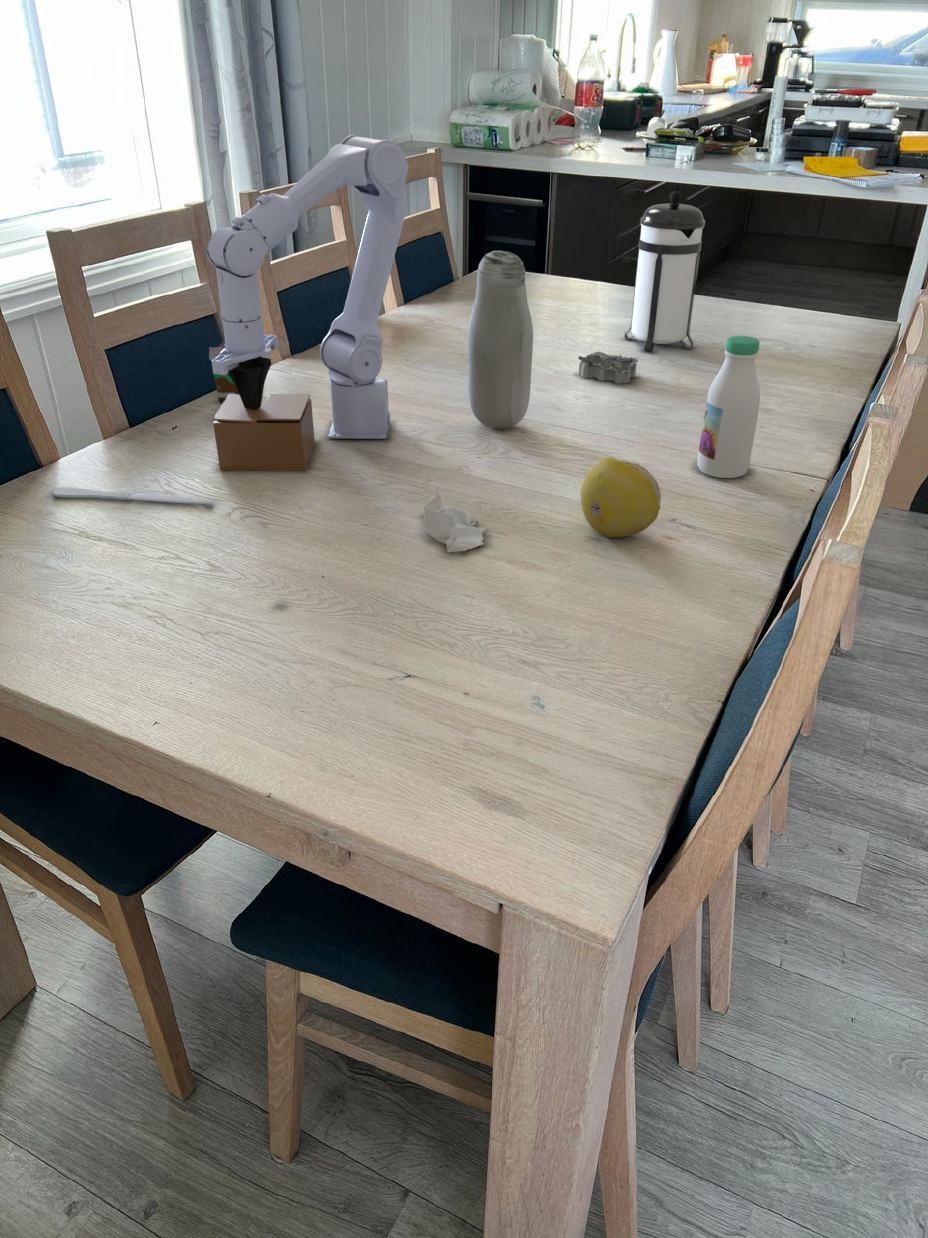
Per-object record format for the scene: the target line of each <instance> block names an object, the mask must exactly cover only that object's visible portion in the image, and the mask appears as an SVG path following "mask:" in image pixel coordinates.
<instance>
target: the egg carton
mask: <svg viewBox="0 0 928 1238" xmlns="http://www.w3.org/2000/svg"><path fill="white" fill-rule="evenodd" d="M577 357H578V358H577V359H578V361H579V367H578V376H581V377H582V378H583V379H590V378H594V379H597V380H598V381H603V382H605V381H612V382H614V383H615V384H618V385H621V384H628V383H630V382H631V378H635V377H636V372H637V363H638V362H639V359H640V356H636V357H632V356H630V357H627V356H624V357H623V356H622V354H619V355H615V354H607V353H604V352H603V351H595V352H592V353H590V354H587V355H586V356H581V355H578V356H577Z"/></svg>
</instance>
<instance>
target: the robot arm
mask: <svg viewBox="0 0 928 1238" xmlns="http://www.w3.org/2000/svg"><path fill="white" fill-rule="evenodd" d="M409 168H410V165H409V162H408V161H407V159H406V157H405V155H404V153H403V151H402V149H401V148H400V146H399V145H398V144H397V143H396V142H394V141H393V140H390V139H376V138H370V137H364V136H361V135H358V134H351V135H347V136H346V137H344V138H343V140H341V142H340V143H337V144H335V145H333V146H332V147H331V148H330V150H329V151H328V152H327V154H326V156H325V157H323V158H322V159H321V160H320V161H319V162H318V163H317V164H316V165H314V166H313V167H312V168H311V169H310V170H309V171H308V172H307V173H306V174H305V175H303V177H301V178H300V179H299V180H298V181H296V183H294V184H293V186H292V187H290V189H288V190H287V191H285V193H284V194H278V193H273V192H272V193H269V194H268V195H267V194H263V193H262V194H261V195H259V196H258V197H257V198H256V201H257V204H256V205H254V206H253V207H252V208H251V209H249V210H248V211H247V212H246V213H244V214H243V215H242V216H239V217H238V216H235V217H234V218H233V219H231V223H232V225H231V227H230V226H226V227H224V226H223V227H220V228H218V229H216V230H215V231H214V232H213V233H212V234H211V236H210V240H209V241H208V244H207V246H208V247H207V248H206V249H205V253H206V257H207V259H208V261H209V262H210V263H211V265H212V266H213V267H214V268H215V273H216V280H217V289H218V290H217V291H218V299H219V305H220V314H221V321H222V328H223V336H224V341H225V345H226V347H225V348H224V350H223V351H222V352H221V353H220V354H219V355H218V357H217V358H215V359H213V360H212V361H211V368H212V374H213V375H214V374H220V375H226V374H228V375H229V376H230V378H231V379H232V381H233V382H234V384H235V386H236V388H237V390H238V392H239V395H240V397H241V400H242V403H243V405H244V408H246V409H252V410H257V409H258V408H260V407H261V403H262V396H264V389H265V383H266V379H267V376H268V373H269V371H270V368H271V367H272V359H271V358H269V356H271V355H272V354H273V351H276V350H278V349H279V348H280V347H279V337H278V336H279V335H274V334H265V331H264V322H263V321H264V320H263V313H262V311H263V310H262V302H261V293H260V284H259V274H258V272H259V271H260V269H261V267H262V266H263V264H264V260H265V256H266V255H267V254H268V253H269V252H271V251H272V250H273V249H274V248H276V247H277V246H278V245H279V244H281V243H282V242H283V241H284V240H285V239H287V238H288V237H289V236H290V235H291V234H293V233H294V232H295V231H296V230H298V226H299V218H300V216H301V215H302V214H304V213H305V212H307V211H308V210H309V209H311V208H312V207H314V206H315V205H317V204H318V203H319V202H320V201H322V200H323V199H325V198H326V197H327V196H329V195H330V194H332V193H333V192H334V191H336V190H337V189H339V188H340V187H342V186H345V187H346V186H347V187H349V186H351V187H353V188H354V189H355V190H356V191H357V192H358V193H359V195H360V196H361V198H362V200H363V202H364V204H365V205H366V208H367V209H368V213H367V217H366V221H365V223H364V224H365V225H364V229H363V233H362V237H361V241H360V245H359V249H358V252H357V257H356V261H355V264H354V267H353V273H352V275H351V279H350V284H349V288H348V292H347V297H346V300H345V303H344V308H343V312H342V313H341V314H340V315H339V316H337V317H336V318H335V319H334V320H333V321H332V322H331V325H330V329H329V331H328V333H327V335H326V336H325V337H324V338H323V340H322V342H321V344H320V347H319V356H320V357H319V358H320V360H321V362H322V364H323V365H324V366H325V368H327V369H328V376H329V386H330V387H329V388H330V400H331V415H332V424H331V427H330V430H329V433H328V439H329V440H330V439H331V440H332V439H333V440H334V439H335V440H336V439H337V440H340V439H341V440H385V439H387V437H388V432H389V427H390V424H391V413H390V411H389V410H390V409H389V408H390V406H389V386H388V385H389V384H388V378H387V379H386V378H380V377H378V375H379V374H380V372H381V369H382V366H383V355H382V347H383V342H384V338H383V336H382V333H381V331H380V328H379V326H378V320H379V317H380V312H381V309H382V304H383V302H384V297H385V294H386V289H387V287H388V282H389V279H390V274H391V271H392V267H393V264H394V260H395V255H396V252H397V248H398V244H399V241H400V237H401V234H402V233H401V232H402V229H403V227H404V226H403V225H404V222H405V218H406V215H407V211H408V210H407V209H408V201H407V187H406V185H407V184H406V180H407V176H408V172H409ZM272 350H273V351H272Z"/></svg>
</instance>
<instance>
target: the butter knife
mask: <svg viewBox="0 0 928 1238" xmlns="http://www.w3.org/2000/svg"><path fill="white" fill-rule="evenodd" d="M52 495H53V496H54V497H56V498H65V499H66V498H69V499H72V498H73V499H75V498H77V499H110V500H119V501H121V500H123V501H126V500H134V501H135V500H136V501H146V502H147V501H150V502H162V503H176V504H177V503H179V504H193V505H194V504H195V505H196V504H197V505H213V504H214V502H213V501H214V500H210V499H207V498H202V497H195V496H185V495H176V494H175V495H174V494H162V493H161V494H160V493H148V492H147V493H146V492H138V493H135V494H130V493H122V492H106V491H98V490H91V489H83V488H77V487H64V486H63V487H59V488H56V489H55V490H53V492H52Z"/></svg>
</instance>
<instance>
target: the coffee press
mask: <svg viewBox="0 0 928 1238" xmlns="http://www.w3.org/2000/svg"><path fill="white" fill-rule="evenodd" d="M668 198H669V201H670V203H659V204H654V205H652V206H651V205H650V206H649V207H648V208H646V210H644V213H643V215H642V216H641V217H640V219H639V223H640V226H641V227H640V236H639V238H638V246H637V247H638V253H637V258H636V269H635V278H634V292H633V293H634V294H633V300H632V301H633V302H632V313H631V314H632V315H631V323H630V327H629V329H628V330H627V331H626V333H625V334H624V339H625V340H626V341H630V340H631V339H633V338H634V337H635V339H637V340H640V341H642V342H645V345H644V347H643V348H644V349H643V350H644V352H647V353H652V352H653V349H654V347H655V345H656V344H664V345H665V344H675V343H681V344H682V346H683V347H684V348H685V349H687V350H688V349H689V350H690V349H691V348H692V347H693V346H694V341H693V339H692V336H691V333H690V332H691V325H692V316H693V309H694V301H695V293H696V287H697V286H696V285H697V279H698V271H699V263H700V254H701V251H702V243H703V240H702V234H703V229H704V227H705V225H706V219H704V215H703V212H702V211H701V209H699V208H697V207H696V206H693V205H690V204H685V203H684V204H683V203H679V202H680V201H681V199H682V194H681V193H680V192H679V191H678V190H675V191H672V192H671V193H670V195H669V196H668ZM630 331H631V334H632V335H633V336H632V337H629V336H628V334H629V332H630ZM686 338H687V340H688V341H689V343H690V345H688V344H687V343H686V342H685V339H686Z"/></svg>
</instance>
